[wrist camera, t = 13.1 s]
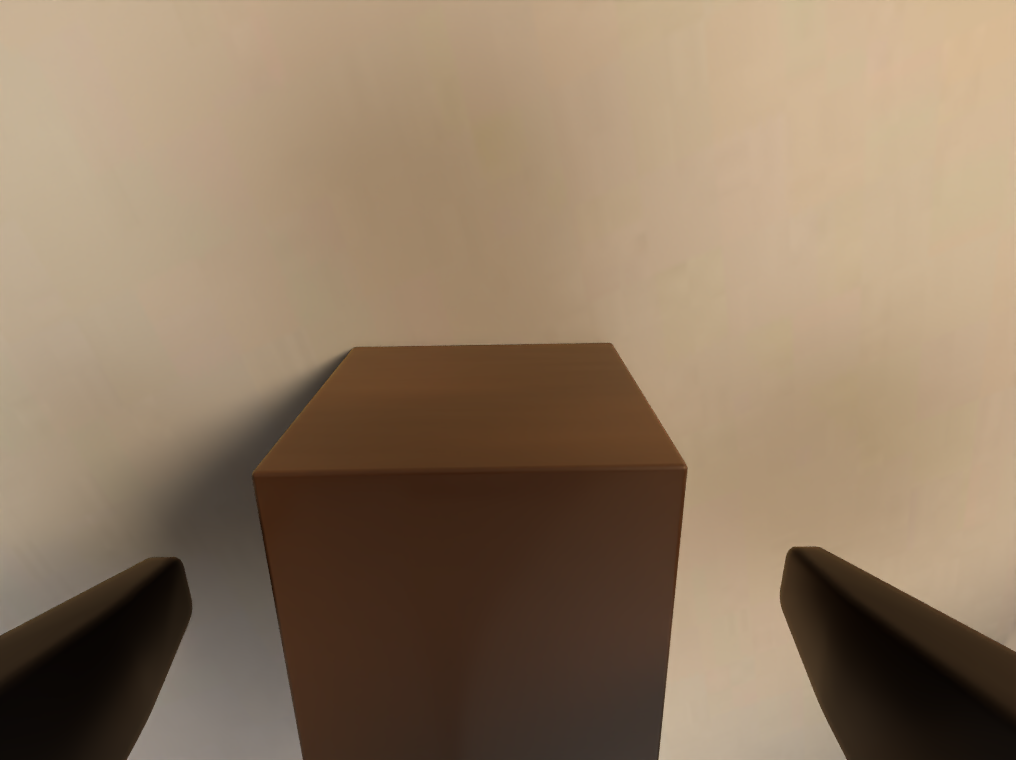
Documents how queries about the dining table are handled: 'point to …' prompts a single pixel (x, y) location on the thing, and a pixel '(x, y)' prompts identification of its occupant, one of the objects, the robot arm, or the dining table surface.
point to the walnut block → (475, 556)
